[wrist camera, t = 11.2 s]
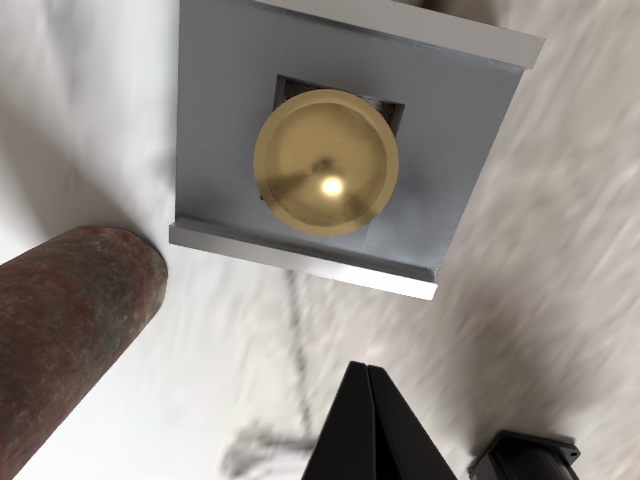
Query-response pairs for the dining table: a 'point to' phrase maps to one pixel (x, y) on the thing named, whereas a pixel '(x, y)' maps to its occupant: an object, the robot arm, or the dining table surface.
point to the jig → (355, 78)
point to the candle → (67, 327)
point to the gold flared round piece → (326, 162)
